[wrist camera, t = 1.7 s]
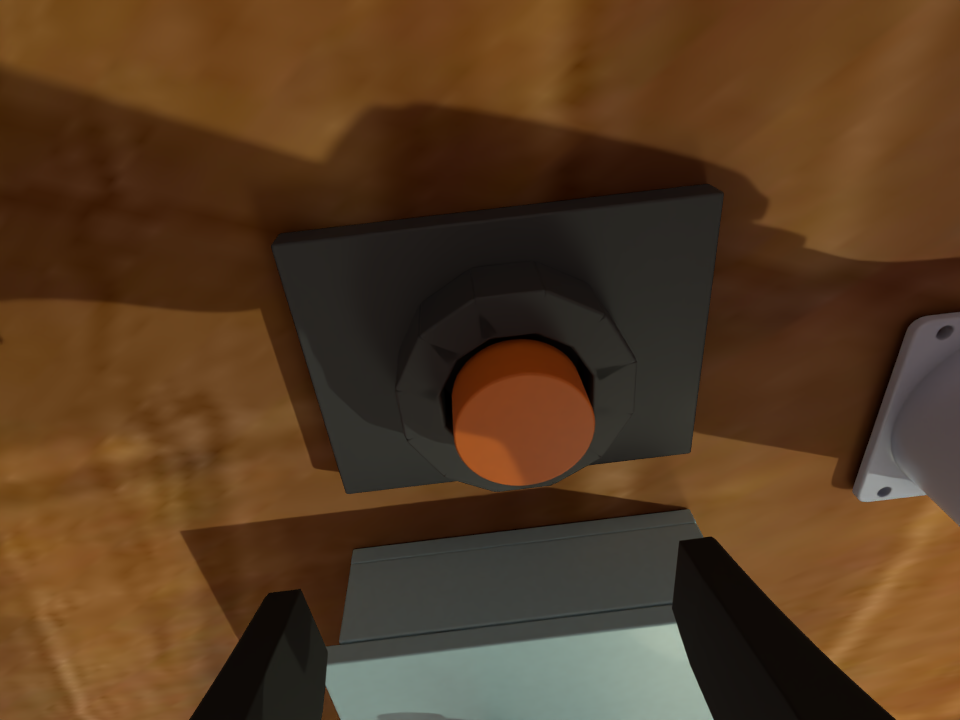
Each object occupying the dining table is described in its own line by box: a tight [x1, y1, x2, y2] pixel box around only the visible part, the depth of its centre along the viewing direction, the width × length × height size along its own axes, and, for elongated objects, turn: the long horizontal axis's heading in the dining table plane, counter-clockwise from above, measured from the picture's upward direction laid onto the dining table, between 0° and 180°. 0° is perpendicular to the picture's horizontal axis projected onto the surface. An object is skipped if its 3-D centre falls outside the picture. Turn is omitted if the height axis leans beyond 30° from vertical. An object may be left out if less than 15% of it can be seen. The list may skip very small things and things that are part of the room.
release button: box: [452, 339, 595, 486], centre depth 15 cm, size 4×4×2 cm
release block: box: [271, 184, 724, 494], centre depth 17 cm, size 12×9×3 cm
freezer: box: [339, 509, 704, 645], centre depth 24 cm, size 13×14×4 cm
